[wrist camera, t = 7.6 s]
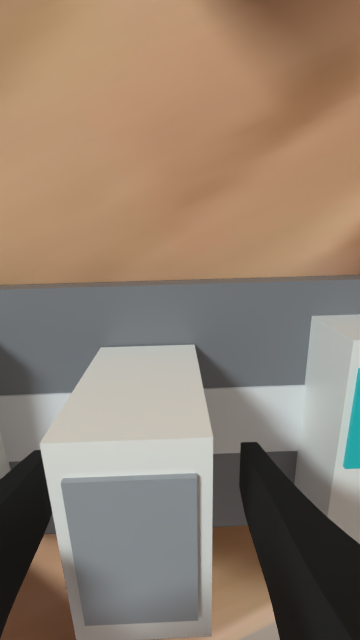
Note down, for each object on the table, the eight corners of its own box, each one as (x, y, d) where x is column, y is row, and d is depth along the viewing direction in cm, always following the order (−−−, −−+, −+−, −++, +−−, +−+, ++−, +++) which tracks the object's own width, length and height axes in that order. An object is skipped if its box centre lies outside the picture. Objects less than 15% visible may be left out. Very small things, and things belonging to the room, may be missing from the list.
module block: (115, 480, 14) (75, 649, 9) (100, 347, 12) (36, 448, 7) (195, 477, 15) (212, 643, 9) (194, 344, 13) (213, 441, 7)
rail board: (-36, 516, 17) (-107, 612, 12) (-105, 288, 13) (-238, 313, 9) (351, 501, 17) (410, 588, 13) (391, 274, 13) (491, 292, 9)
